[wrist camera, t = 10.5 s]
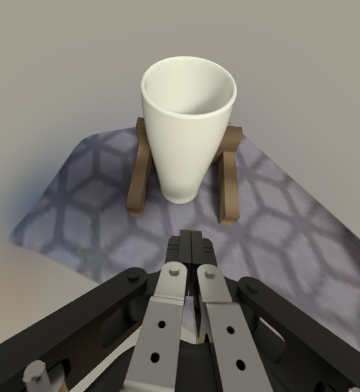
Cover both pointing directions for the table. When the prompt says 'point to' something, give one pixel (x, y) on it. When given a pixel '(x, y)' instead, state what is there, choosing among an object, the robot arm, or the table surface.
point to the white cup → (185, 120)
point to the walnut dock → (222, 158)
